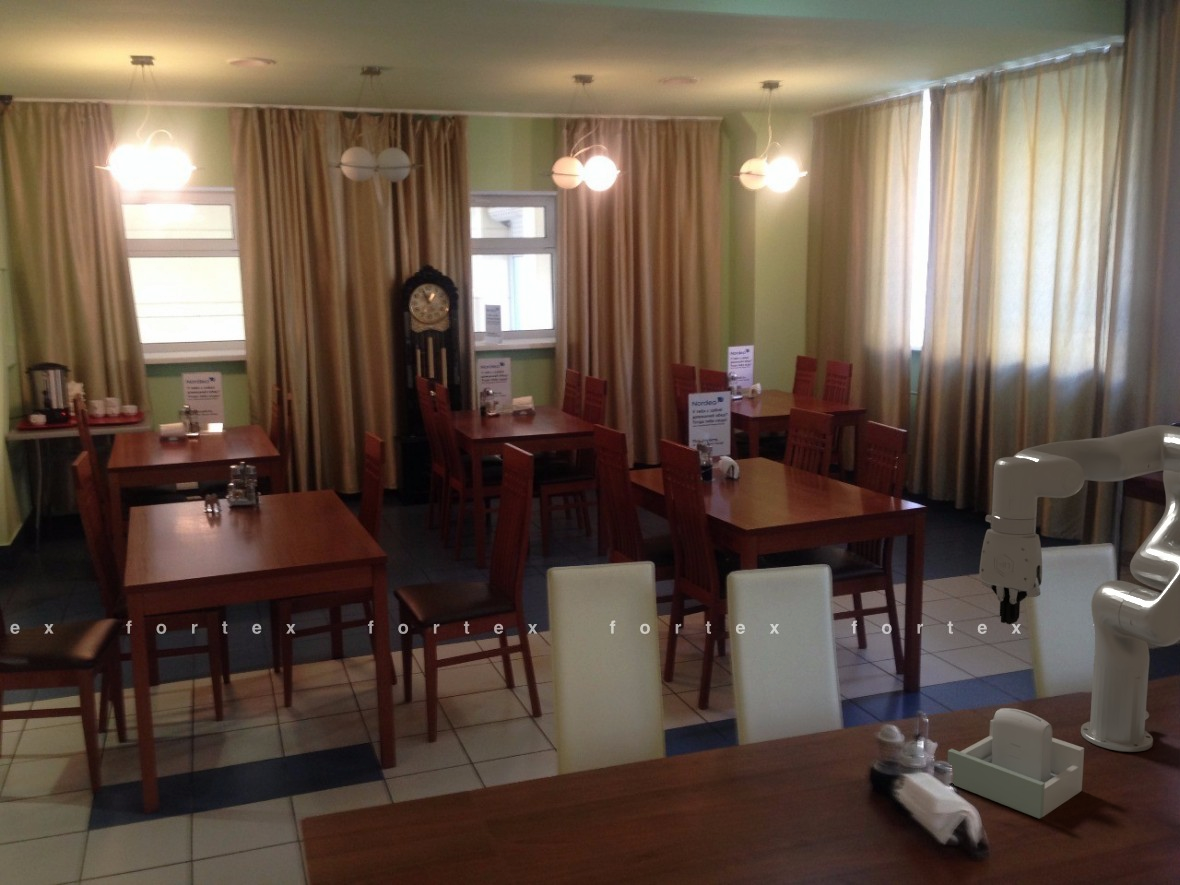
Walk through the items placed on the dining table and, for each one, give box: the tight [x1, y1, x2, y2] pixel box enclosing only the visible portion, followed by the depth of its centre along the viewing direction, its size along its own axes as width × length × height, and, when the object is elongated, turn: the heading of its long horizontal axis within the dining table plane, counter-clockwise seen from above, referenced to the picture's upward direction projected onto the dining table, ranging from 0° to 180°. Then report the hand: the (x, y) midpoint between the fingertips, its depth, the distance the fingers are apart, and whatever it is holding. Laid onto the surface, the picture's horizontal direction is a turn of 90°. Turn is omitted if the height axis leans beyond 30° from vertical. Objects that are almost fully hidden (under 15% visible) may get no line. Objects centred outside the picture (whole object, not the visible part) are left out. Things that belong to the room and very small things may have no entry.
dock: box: [960, 718, 1085, 817], centre depth 183 cm, size 14×17×8 cm
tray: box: [947, 748, 1057, 819], centre depth 182 cm, size 14×17×6 cm
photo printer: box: [992, 707, 1053, 783], centre depth 183 cm, size 10×4×12 cm, turn 39°
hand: (1009, 621), depth 190 cm, fingers closed
